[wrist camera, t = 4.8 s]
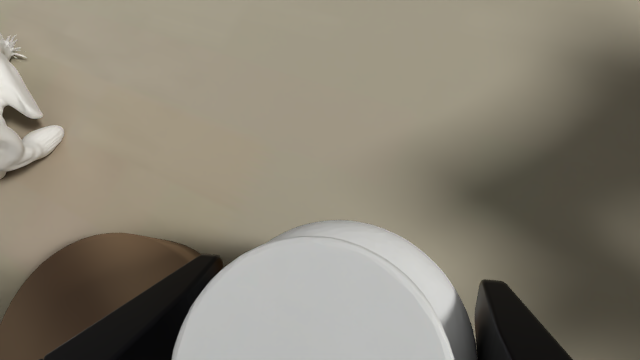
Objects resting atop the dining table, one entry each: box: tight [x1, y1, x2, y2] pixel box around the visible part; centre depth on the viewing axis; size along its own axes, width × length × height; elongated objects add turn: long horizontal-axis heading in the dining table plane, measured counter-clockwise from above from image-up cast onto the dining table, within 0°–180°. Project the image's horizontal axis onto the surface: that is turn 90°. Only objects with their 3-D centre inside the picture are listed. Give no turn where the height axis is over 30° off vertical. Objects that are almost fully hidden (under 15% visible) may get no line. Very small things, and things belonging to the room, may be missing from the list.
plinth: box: [0, 233, 201, 360], centre depth 19 cm, size 11×11×3 cm
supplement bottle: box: [171, 220, 477, 360], centre depth 10 cm, size 5×5×10 cm
